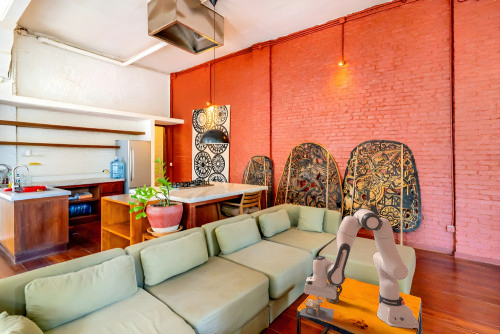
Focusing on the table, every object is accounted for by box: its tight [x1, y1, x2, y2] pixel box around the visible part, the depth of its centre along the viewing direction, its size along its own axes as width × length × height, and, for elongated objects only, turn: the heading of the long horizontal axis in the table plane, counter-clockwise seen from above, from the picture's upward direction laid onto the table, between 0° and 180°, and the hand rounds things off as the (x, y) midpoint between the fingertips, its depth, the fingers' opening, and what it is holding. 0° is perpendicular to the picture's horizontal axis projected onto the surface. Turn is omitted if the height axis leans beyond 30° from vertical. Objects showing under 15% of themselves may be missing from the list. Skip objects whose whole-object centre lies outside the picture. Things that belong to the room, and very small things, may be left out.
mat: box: [299, 303, 335, 323], centre depth 167 cm, size 20×14×1 cm
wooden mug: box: [325, 276, 346, 304], centre depth 180 cm, size 9×14×18 cm, turn 72°
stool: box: [305, 298, 321, 316], centre depth 168 cm, size 6×8×8 cm
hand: (320, 302), depth 166 cm, fingers closed
